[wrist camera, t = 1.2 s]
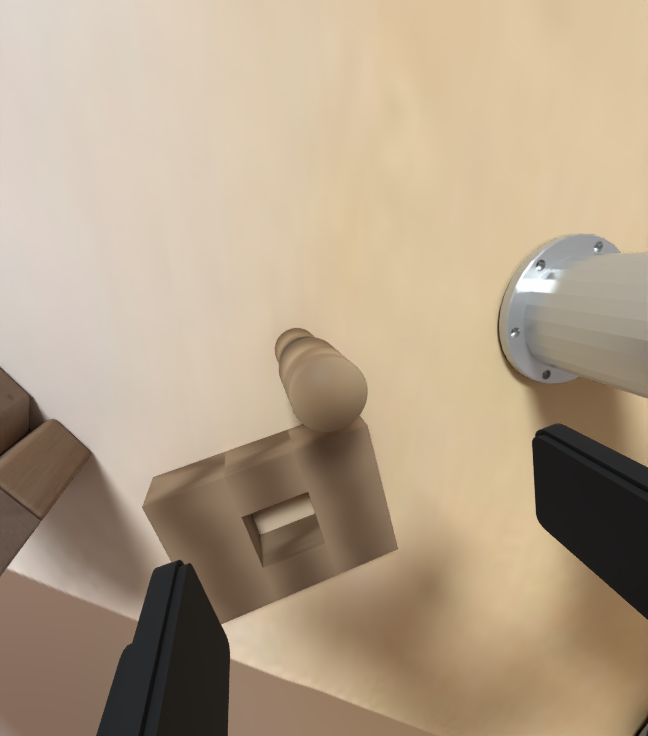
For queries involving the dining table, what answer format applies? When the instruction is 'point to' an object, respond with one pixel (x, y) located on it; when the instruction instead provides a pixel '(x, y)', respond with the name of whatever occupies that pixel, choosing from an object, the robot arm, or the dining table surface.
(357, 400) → the peg
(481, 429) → the dining table surface
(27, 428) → the brown jointed angular part
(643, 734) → the lucky cat figurine
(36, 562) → the dining table surface
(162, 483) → the board
